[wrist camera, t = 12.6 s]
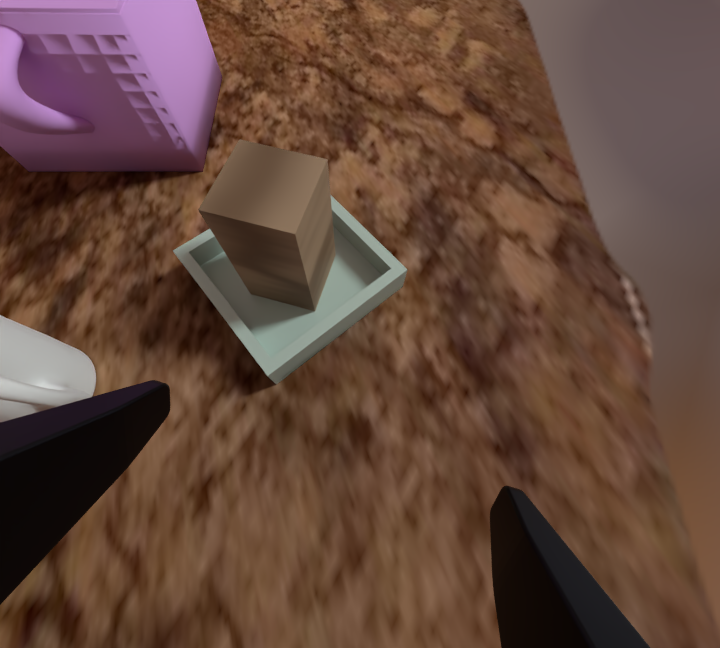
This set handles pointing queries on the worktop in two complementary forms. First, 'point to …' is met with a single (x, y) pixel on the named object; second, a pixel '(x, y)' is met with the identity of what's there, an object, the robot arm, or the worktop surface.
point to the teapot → (106, 85)
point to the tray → (291, 323)
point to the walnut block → (274, 221)
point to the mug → (39, 372)
